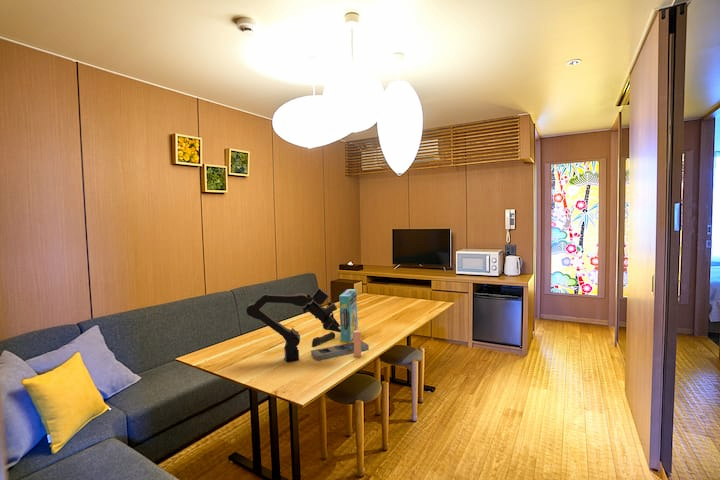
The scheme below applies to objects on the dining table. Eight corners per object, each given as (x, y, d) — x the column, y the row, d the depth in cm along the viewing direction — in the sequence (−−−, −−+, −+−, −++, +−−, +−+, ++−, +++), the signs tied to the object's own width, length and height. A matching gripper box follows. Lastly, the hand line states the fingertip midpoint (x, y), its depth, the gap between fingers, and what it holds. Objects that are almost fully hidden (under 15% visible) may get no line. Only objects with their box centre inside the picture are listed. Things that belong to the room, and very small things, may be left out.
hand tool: (330, 337, 231) (330, 330, 230) (335, 338, 228) (335, 331, 228) (308, 346, 215) (308, 338, 215) (313, 348, 213) (313, 340, 213)
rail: (317, 360, 194) (316, 355, 194) (311, 355, 202) (311, 350, 202) (368, 349, 207) (368, 345, 207) (361, 344, 215) (361, 340, 215)
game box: (351, 341, 221) (349, 296, 219) (340, 341, 222) (338, 296, 220) (358, 331, 241) (356, 289, 239) (348, 330, 242) (347, 288, 240)
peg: (354, 356, 197) (353, 332, 196) (354, 354, 201) (353, 330, 200) (361, 356, 198) (360, 332, 197) (360, 354, 201) (359, 330, 200)
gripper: (327, 303, 187) (351, 322, 189) (326, 295, 206) (348, 312, 208) (312, 320, 187) (337, 339, 189) (313, 311, 205) (335, 328, 207)
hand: (340, 328), depth 198 cm, fingers open, 9 cm apart
